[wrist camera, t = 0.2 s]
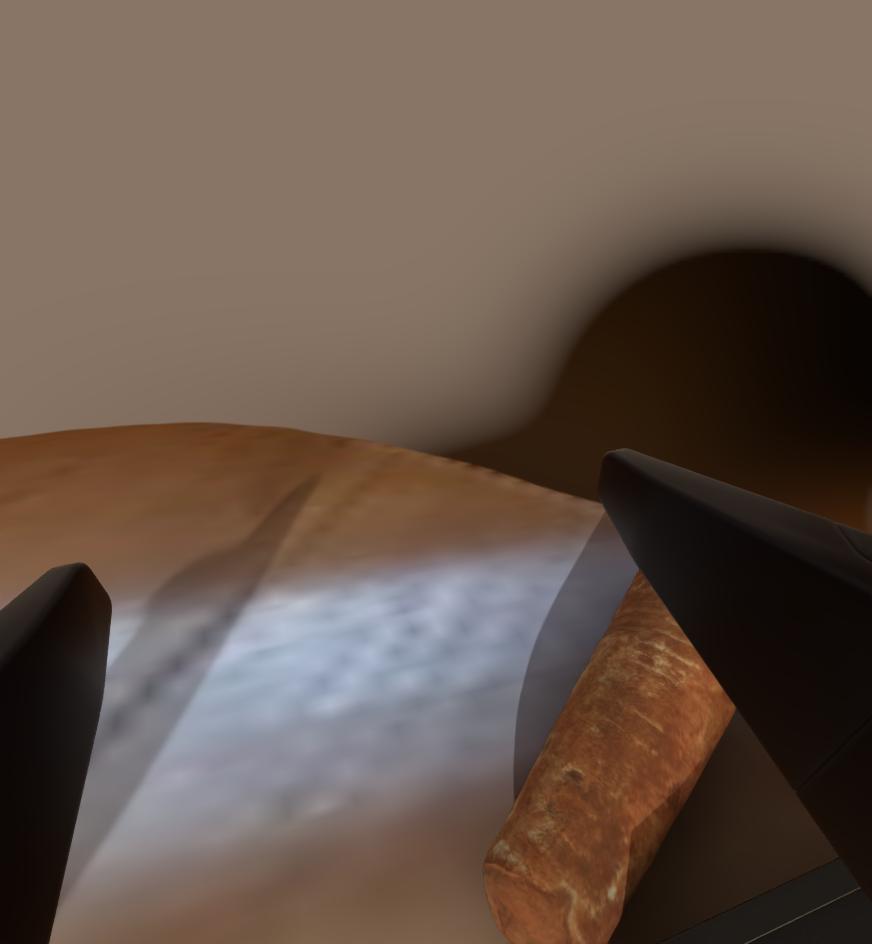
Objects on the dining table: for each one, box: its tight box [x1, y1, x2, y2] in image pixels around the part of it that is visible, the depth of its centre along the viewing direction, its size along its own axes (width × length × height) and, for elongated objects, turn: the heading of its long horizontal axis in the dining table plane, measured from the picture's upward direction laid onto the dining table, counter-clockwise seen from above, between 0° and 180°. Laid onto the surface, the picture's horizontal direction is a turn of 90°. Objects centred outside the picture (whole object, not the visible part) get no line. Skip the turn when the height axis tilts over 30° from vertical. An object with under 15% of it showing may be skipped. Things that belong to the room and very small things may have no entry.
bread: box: [483, 569, 736, 944], centre depth 19 cm, size 6×19×6 cm, turn 136°
